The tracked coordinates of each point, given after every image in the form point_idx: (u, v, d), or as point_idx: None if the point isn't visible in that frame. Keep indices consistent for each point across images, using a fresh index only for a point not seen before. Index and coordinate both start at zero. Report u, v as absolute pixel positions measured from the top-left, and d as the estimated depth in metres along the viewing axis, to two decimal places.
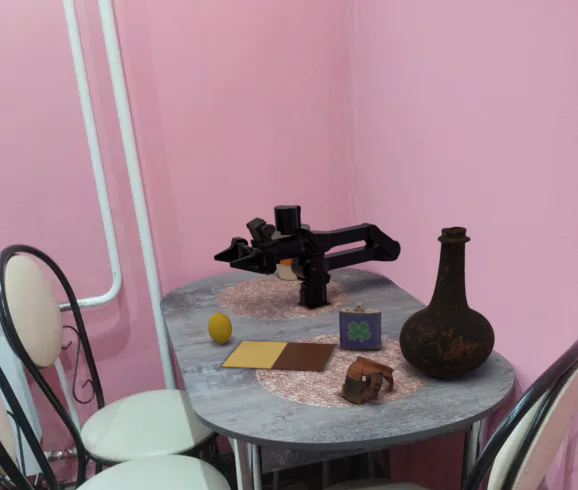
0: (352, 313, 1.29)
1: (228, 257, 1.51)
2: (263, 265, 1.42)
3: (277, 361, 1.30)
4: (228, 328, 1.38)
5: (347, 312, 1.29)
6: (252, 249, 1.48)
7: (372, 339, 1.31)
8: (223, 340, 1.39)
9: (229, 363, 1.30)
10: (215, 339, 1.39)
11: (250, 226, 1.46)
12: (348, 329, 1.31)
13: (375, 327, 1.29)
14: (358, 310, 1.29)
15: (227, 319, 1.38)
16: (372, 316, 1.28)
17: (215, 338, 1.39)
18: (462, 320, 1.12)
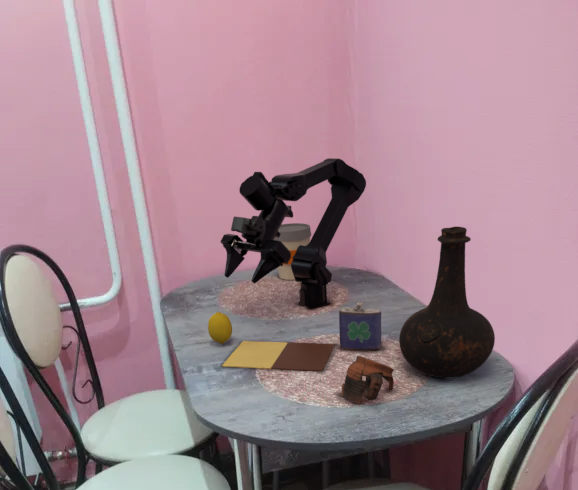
0: (352, 313, 1.29)
1: (234, 263, 1.45)
2: (278, 259, 1.37)
3: (277, 361, 1.30)
4: (228, 328, 1.38)
5: (347, 312, 1.29)
6: (251, 245, 1.41)
7: (372, 339, 1.31)
8: (223, 340, 1.39)
9: (229, 363, 1.30)
10: (215, 339, 1.39)
11: (237, 230, 1.37)
12: (348, 329, 1.31)
13: (375, 327, 1.29)
14: (358, 310, 1.29)
15: (227, 319, 1.38)
16: (372, 316, 1.28)
17: (215, 338, 1.39)
18: (462, 320, 1.12)
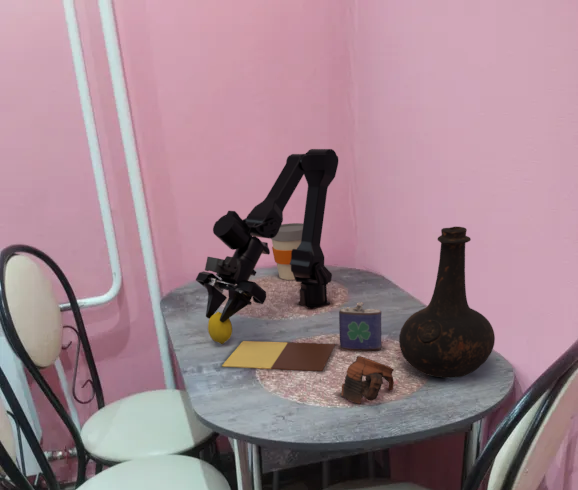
0: (352, 313, 1.29)
1: (216, 304, 1.41)
2: (247, 298, 1.36)
3: (277, 361, 1.30)
4: (228, 328, 1.38)
5: (347, 312, 1.29)
6: (233, 285, 1.37)
7: (372, 339, 1.31)
8: (223, 340, 1.39)
9: (229, 363, 1.30)
10: (215, 339, 1.39)
11: None
12: (348, 329, 1.31)
13: (375, 327, 1.29)
14: (358, 310, 1.29)
15: (227, 319, 1.38)
16: (372, 316, 1.28)
17: (215, 338, 1.39)
18: (462, 320, 1.12)
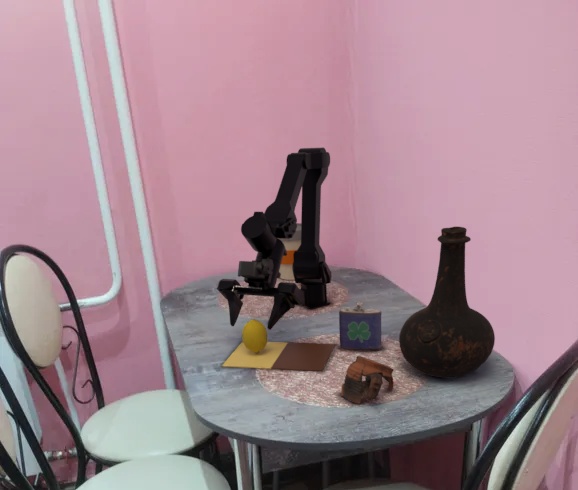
0: (352, 313, 1.29)
1: (237, 310, 1.34)
2: (292, 301, 1.30)
3: (277, 361, 1.30)
4: (266, 335, 1.32)
5: (347, 312, 1.29)
6: (257, 289, 1.31)
7: (372, 339, 1.31)
8: (261, 348, 1.32)
9: (229, 363, 1.30)
10: (253, 348, 1.32)
11: (245, 275, 1.27)
12: (348, 329, 1.31)
13: (375, 327, 1.29)
14: (358, 310, 1.29)
15: (263, 326, 1.32)
16: (372, 316, 1.28)
17: (253, 347, 1.31)
18: (462, 320, 1.12)
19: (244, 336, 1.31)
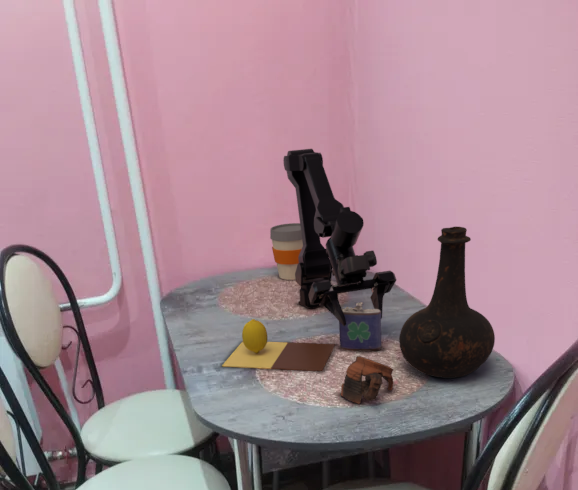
0: (352, 313, 1.29)
1: None
2: None
3: (277, 361, 1.30)
4: (266, 335, 1.32)
5: (347, 312, 1.29)
6: (355, 284, 1.31)
7: (372, 339, 1.30)
8: (261, 348, 1.32)
9: (229, 363, 1.30)
10: (253, 348, 1.32)
11: None
12: (348, 329, 1.31)
13: (374, 327, 1.29)
14: (358, 310, 1.29)
15: (263, 326, 1.32)
16: (371, 316, 1.28)
17: (253, 347, 1.31)
18: (462, 320, 1.12)
19: (244, 336, 1.31)
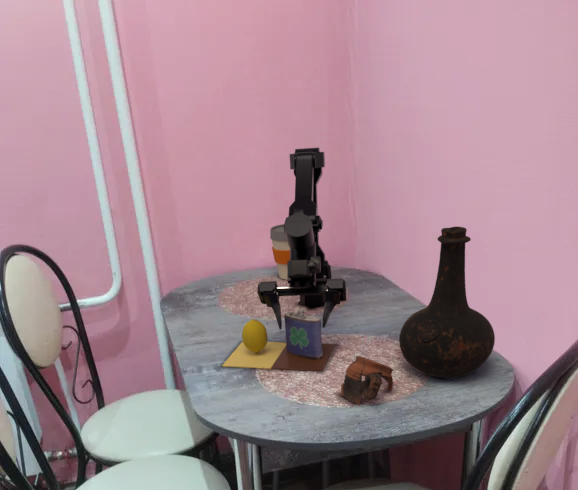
0: (292, 318, 1.28)
1: (280, 312, 1.30)
2: None
3: (277, 361, 1.30)
4: (266, 335, 1.32)
5: (289, 316, 1.29)
6: (301, 288, 1.29)
7: (311, 347, 1.28)
8: (261, 348, 1.32)
9: (229, 363, 1.30)
10: (253, 348, 1.32)
11: (295, 274, 1.24)
12: (290, 333, 1.30)
13: (312, 335, 1.27)
14: (298, 316, 1.27)
15: (263, 326, 1.32)
16: (309, 324, 1.26)
17: (253, 347, 1.31)
18: (462, 320, 1.12)
19: (244, 336, 1.31)
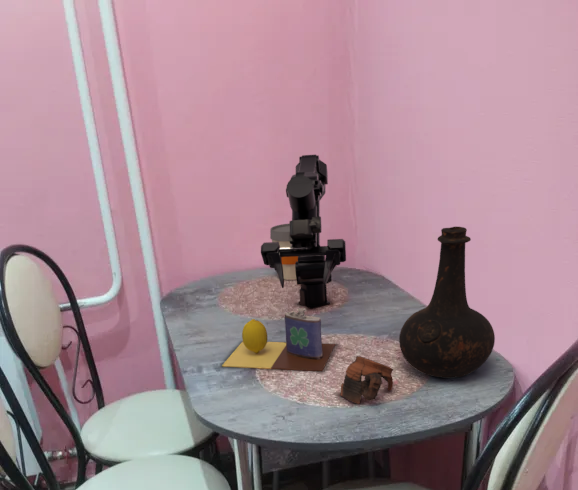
0: (292, 318, 1.28)
1: (282, 272, 1.35)
2: (339, 258, 1.35)
3: (277, 361, 1.30)
4: (266, 335, 1.32)
5: (289, 316, 1.29)
6: (302, 248, 1.34)
7: (311, 347, 1.28)
8: (261, 348, 1.32)
9: (229, 363, 1.30)
10: (253, 348, 1.32)
11: (297, 234, 1.29)
12: (290, 333, 1.30)
13: (312, 335, 1.27)
14: (298, 316, 1.27)
15: (263, 326, 1.32)
16: (309, 324, 1.26)
17: (253, 347, 1.31)
18: (462, 320, 1.12)
19: (244, 336, 1.31)
